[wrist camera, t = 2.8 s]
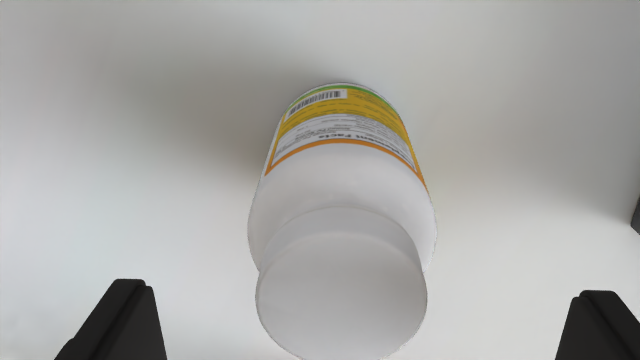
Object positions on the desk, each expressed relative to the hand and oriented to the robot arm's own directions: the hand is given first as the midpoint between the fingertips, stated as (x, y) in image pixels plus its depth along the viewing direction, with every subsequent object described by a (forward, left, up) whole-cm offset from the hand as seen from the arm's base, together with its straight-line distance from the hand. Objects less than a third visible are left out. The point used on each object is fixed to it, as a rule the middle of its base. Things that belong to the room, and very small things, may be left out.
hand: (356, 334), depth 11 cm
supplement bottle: (0, 0, -10) cm, 10 cm away
